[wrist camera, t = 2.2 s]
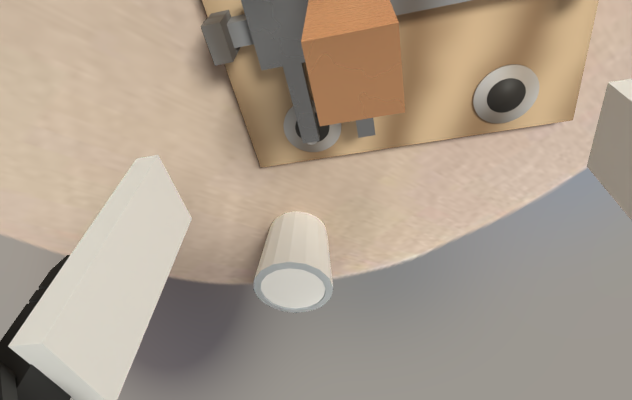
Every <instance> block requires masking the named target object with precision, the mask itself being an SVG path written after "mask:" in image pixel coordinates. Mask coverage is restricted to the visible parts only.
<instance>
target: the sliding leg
mask: <svg viewBox="0 0 632 400" xmlns="http://www.w3.org/2000/svg"><path fill="white" fill-rule="evenodd" d="M301 45H302V49H303V54H304V58H305V63H306V67H307V71H308V76H309V80H310V85H311V89H312V94H313V98H314V103H315V107H316V111H317V116H318V120H319V125H320V126H326V125H332V124H338V123H344V122H350V121H356V126H357V132H358V138H361V137H367V136H373V135H376V134H375V127H374V119H373V118H374V117H380V116H386V115H392V114H398V113H405V100H404V87H403V73H402V60H401V46H400V32H399V22H398V20H397V17H396V15H395V12H394V10H393V7H392V5H391V2H390V0H309V1H308V6H307V12H306V17H305V23H304V28H303V34H302V39H301Z"/></svg>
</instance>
